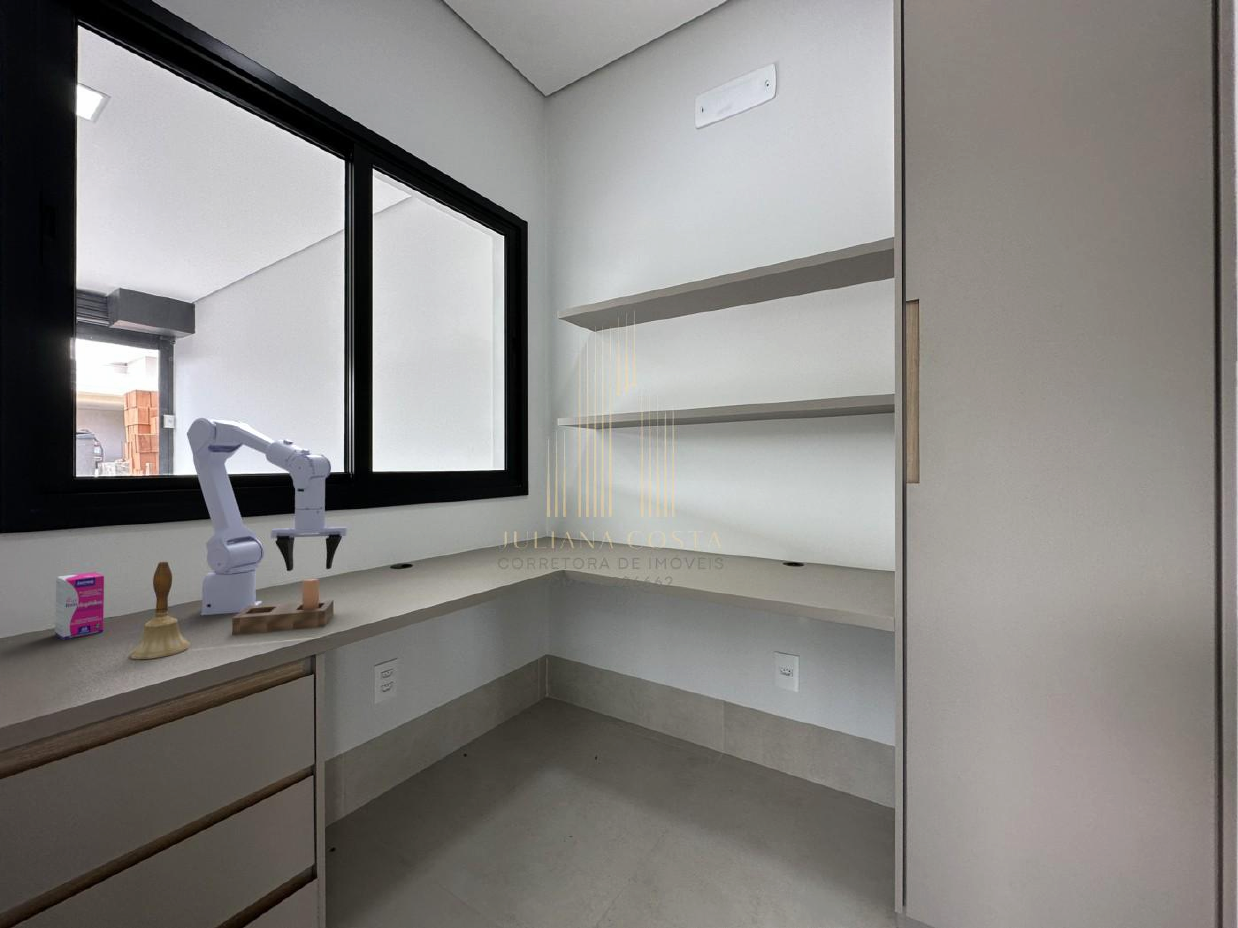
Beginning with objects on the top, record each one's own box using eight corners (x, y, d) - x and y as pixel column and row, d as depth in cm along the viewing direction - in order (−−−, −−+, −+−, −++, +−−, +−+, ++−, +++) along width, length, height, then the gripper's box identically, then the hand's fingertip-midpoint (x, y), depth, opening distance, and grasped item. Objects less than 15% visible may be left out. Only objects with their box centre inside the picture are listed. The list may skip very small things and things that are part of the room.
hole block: (232, 635, 101) (232, 617, 101) (248, 622, 110) (248, 605, 110) (325, 627, 107) (325, 610, 107) (333, 615, 115) (333, 599, 115)
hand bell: (166, 641, 98) (166, 557, 98) (202, 644, 96) (202, 559, 96) (116, 658, 90) (116, 565, 90) (155, 661, 88) (155, 567, 88)
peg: (301, 625, 108) (301, 582, 108) (303, 621, 111) (303, 579, 111) (317, 624, 109) (317, 581, 109) (319, 619, 112) (319, 578, 112)
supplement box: (62, 640, 99) (62, 580, 99) (54, 634, 102) (54, 576, 102) (104, 632, 104) (104, 574, 104) (95, 626, 107) (95, 571, 107)
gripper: (266, 510, 110) (266, 574, 110) (342, 509, 115) (342, 570, 115) (276, 507, 117) (276, 568, 117) (348, 506, 121) (348, 564, 122)
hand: (309, 569), depth 116 cm, fingers open, 7 cm apart
